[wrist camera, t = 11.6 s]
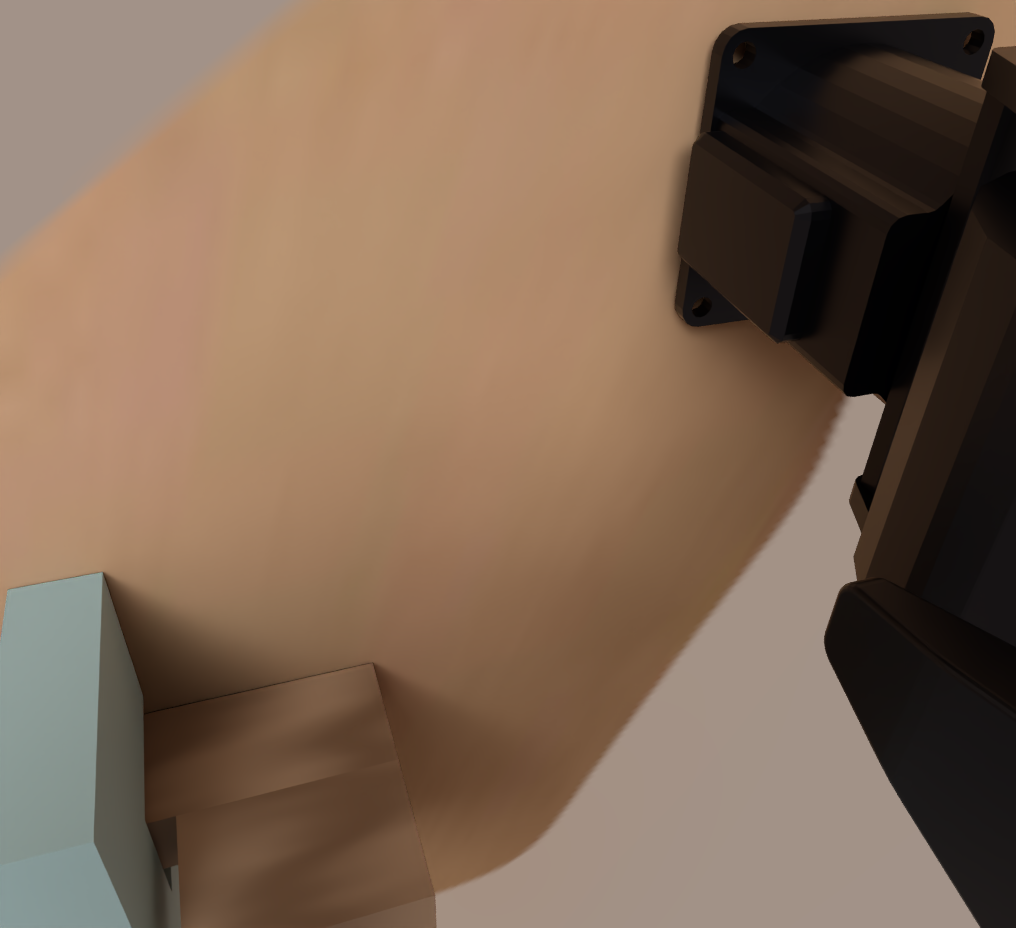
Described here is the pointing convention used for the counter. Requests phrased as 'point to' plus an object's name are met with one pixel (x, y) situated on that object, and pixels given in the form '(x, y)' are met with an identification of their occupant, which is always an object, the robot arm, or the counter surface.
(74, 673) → the teal slotted plate
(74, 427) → the counter surface
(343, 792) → the walnut slotted plate
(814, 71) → the robot arm
